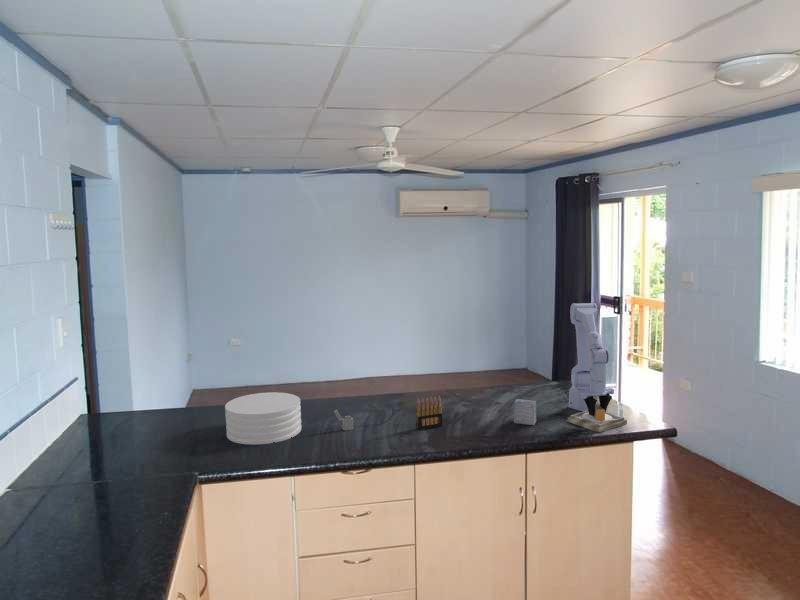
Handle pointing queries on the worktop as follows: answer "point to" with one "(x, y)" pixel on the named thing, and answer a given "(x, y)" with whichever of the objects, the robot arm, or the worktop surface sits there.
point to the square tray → (597, 427)
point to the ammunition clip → (428, 414)
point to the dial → (598, 415)
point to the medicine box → (525, 411)
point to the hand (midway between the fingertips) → (597, 414)
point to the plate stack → (263, 418)
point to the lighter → (345, 421)
